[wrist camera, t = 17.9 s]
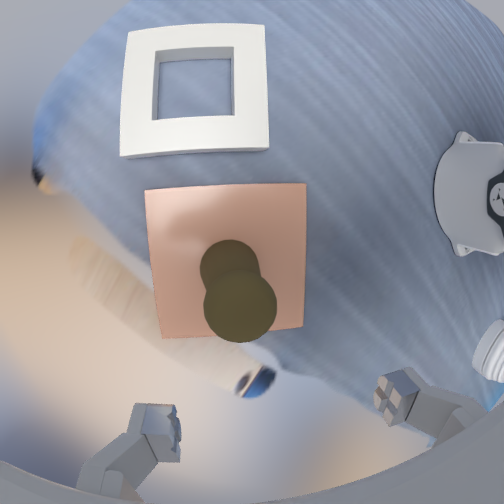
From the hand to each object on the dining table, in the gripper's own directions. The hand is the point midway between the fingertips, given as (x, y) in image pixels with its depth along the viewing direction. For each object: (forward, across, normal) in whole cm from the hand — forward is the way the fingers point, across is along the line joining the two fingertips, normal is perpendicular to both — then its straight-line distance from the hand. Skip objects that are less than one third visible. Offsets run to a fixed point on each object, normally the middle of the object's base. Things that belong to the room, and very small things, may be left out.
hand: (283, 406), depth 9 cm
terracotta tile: (+20, +1, 0) cm, 20 cm away
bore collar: (+20, +4, -18) cm, 27 cm away
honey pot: (+22, -55, +24) cm, 64 cm away
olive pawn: (+20, +1, +1) cm, 20 cm away
